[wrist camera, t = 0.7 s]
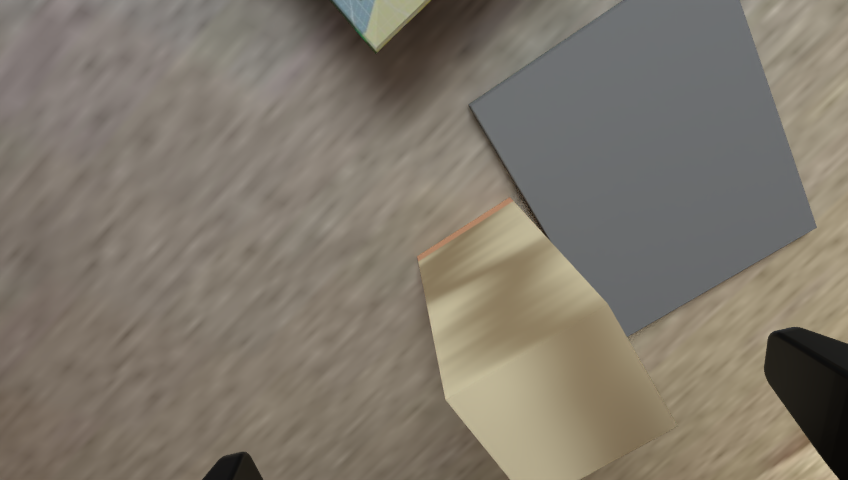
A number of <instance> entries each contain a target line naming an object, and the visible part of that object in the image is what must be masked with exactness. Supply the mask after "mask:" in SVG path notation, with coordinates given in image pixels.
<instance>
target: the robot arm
mask: <svg viewBox="0 0 848 480" xmlns="http://www.w3.org/2000/svg"><path fill="white" fill-rule="evenodd" d="M764 372H765V376H766V379H767V381H768V383H769V384H770V386H771V387H772V389H773V390H774V391H775V393H776V394H777V396H778V397H779V398H780V400H781V401H782V403H783V404H784V405H785V407H786V408H787V410H788V411H789V412H790V414H791V415H792V417H793V418H794V419H795V421H796V422H797V424H798V425H799V426H800V428H801V429H802V431H803V432H804V433H805V435H806V436H807V438H808V439H809V440H810V442H811V443H812V445H813V446H814V447H815V449H816V450H817V452H818V453H819V454H820V456H821V457H822V458H823V460H824V461H825V462H826V464H827V465H828V466H829V467H830V469H831V470H832V471H833V472H834V474H835V475H836V476H837V477H838V478H839V480H848V344H847V343H844V342H841V341H838V340H835V339H833V338H830V337H827V336H824V335H821V334H818V333H815V332H812V331H809V330H806V329H803V328H800V327H791V328H786V329H782V330H777V331H774V332H772V333H771V334H770V335H769V337H768V341H767V349H766V356H765V364H764ZM202 480H263V478H262V477H261V475H260V473H259V471H258V469H257V467H256V465H255V463H254V462H253V460H252V458H251V456H250V455H249V454H248V453H247V452H239V453H234V454H230V455H226V456H223V457H222V458H220V459H219V460H218V461H217V463H216V464H215V465H214V466H213V467H212V468H211V470H210V471H209V472H208V473H207V474H206V476H205V477H204V478H203V479H202Z"/></svg>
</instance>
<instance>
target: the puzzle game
mask: <svg viewBox="0 0 848 480" xmlns="http://www.w3.org/2000/svg"><path fill="white" fill-rule="evenodd" d="M330 1H331V2H332V3H333V5H334V6H335V7H336V8H337V9H338V10H339V12H340V13H341V14H342V15H343V16H344V17H345V19H346V20H347V21H348V22H349V23H350V24H351V26H352V27H353V28H354V29H355V30H356V31H357V33H358V34H359V35H360V36H361V37H362V38H363V40H364V41H365V42H366V43H367V44H368V45H369V47H370V48H371V49H372V50H373V51H374V52H375V54H376V53H377V52H378V51H379V50H380V49H381V48H383V47H384V46H385V45H386V44H387V43H388V42H389V41H390V40H391V39H392V38H393V37H394V36H395V35H396V34H397V33H398V32H399V31H400V30H401V29H402V28H403V27H404V26H405V25H406V24H407V23H408V22H409V21H410V20H411V19H413V18H414V17H415V16H416V15H417V14H418V13H419V12H420V11H421V10H422V9H423V8H424V7H425V6H426V5H427V4H428V3H429V2H430V1H431V0H330Z"/></svg>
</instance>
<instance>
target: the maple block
mask: <svg viewBox="0 0 848 480" xmlns="http://www.w3.org/2000/svg"><path fill="white" fill-rule="evenodd" d="M417 258H418V263H419V268H420V273H421V278H422V283H423V288H424V293H425V298H426V303H427V308H428V313H429V318H430V324H431V329H432V334H433V339H434V344H435V349H436V354H437V359H438V364H439V369H440V374H441V379H442V384H443V389H444V395H445V400H446V401H447V402H448V403H449V405H450V406H451V407H452V408H453V410H454V411H455V412H456V413H457V414H458V416H459V417H460V418H461V419H462V421H463V422H464V423H465V424H466V426H467V427H468V428H469V429H470V431H471V432H472V433H473V434H474V435H475V437H476V438H477V439H478V440H479V442H480V443H481V444H482V445H483V447H484V448H485V449H486V450H487V451H488V453H489V454H490V455H491V456H492V458H493V459H494V460H495V461H496V463H497V464H498V465H499V466H500V468H501V469H502V470H503V471H504V472H505V474H506V475H507V476H508V477H509V479H510V480H580V479H582V478H583V477H585V476H587V475H589V474H591V473H593V472H594V471H596V470H598V469H600V468H602V467H604V466H606V465H607V464H609V463H611V462H613V461H615V460H617V459H618V458H620V457H622V456H624V455H626V454H628V453H630V452H631V451H633V450H635V449H637V448H639V447H641V446H642V445H644V444H646V443H648V442H650V441H652V440H654V439H655V438H657V437H659V436H661V435H663V434H665V433H667V432H668V431H670V430H672V429H674V428H676V427H678V425H677V424H676V422H675V420H674V418H673V417H672V415H671V413H670V411H669V410H668V408H667V406H666V404H665V403H664V401H663V399H662V397H661V396H660V394H659V392H658V390H657V389H656V387H655V385H654V383H653V382H652V380H651V378H650V377H649V375H648V373H647V371H646V370H645V368H644V366H643V364H642V363H641V361H640V359H639V357H638V356H637V354H636V352H635V350H634V349H633V347H632V345H631V343H630V342H629V340H628V338H627V336H626V335H625V333H624V331H623V329H622V328H621V326H620V324H619V322H618V321H617V319H616V317H615V315H614V314H613V312H612V310H611V308H610V307H609V305H608V304H607V302H606V301H605V300H604V299H603V298H602V297H601V296H600V295H599V294H598V293H597V292H596V290H595V289H594V288H593V287H592V286H591V285H590V284H589V283H588V282H587V281H586V280H585V278H584V277H583V276H582V275H581V274H580V273H579V272H578V271H577V270H576V269H575V268H574V266H573V265H572V264H571V263H570V262H569V261H568V260H567V259H566V258H565V257H564V256H563V255H562V253H561V252H560V251H559V250H558V249H557V248H556V247H555V246H554V245H553V244H552V243H551V241H550V240H549V239H548V238H547V237H546V236H545V235H544V234H543V233H542V232H541V231H540V229H539V228H538V227H537V226H536V225H535V224H534V223H533V222H532V221H531V220H530V219H529V217H528V216H527V215H526V214H525V213H524V212H523V211H522V210H521V209H520V208H519V207H518V206H517V204H516V203H515V202H514V201H513V200H512V199H511V198H508V199H506V200H505V201H503V202H502V203H500V204H499V205H497V206H495V207H494V208H492V209H491V210H489V211H488V212H486V213H484V214H483V215H481V216H480V217H478V218H477V219H475V220H474V221H472V222H470V223H469V224H467V225H466V226H464V227H463V228H461V229H459V230H458V231H456V232H455V233H453V234H452V235H450V236H448V237H447V238H445V239H444V240H442V241H441V242H439V243H437V244H436V245H434V246H433V247H431V248H430V249H428V250H426V251H425V252H423V253H422V254H420V255H419V256H417Z"/></svg>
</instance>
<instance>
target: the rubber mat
mask: <svg viewBox="0 0 848 480" xmlns="http://www.w3.org/2000/svg"><path fill="white" fill-rule="evenodd" d="M469 107H470V109H471V110H472V112H473V114H474V115H475V117H476V119H477V120H478V122H479V124H480V125H481V127H482V129H483V130H484V132H485V134H486V135H487V137H488V139H489V140H490V142H491V144H492V146H493V147H494V149H495V151H496V152H497V154H498V156H499V157H500V159H501V161H502V162H503V164H504V166H505V167H506V169H507V171H508V172H509V174H510V176H511V178H512V179H513V181H514V183H515V184H516V186H517V188H518V189H519V191H520V193H521V194H522V196H523V198H524V199H525V201H526V203H527V204H528V206H529V208H530V210H531V211H532V213H533V215H534V216H535V218H536V220H537V221H538V223H539V225H540V226H541V228H542V230H543V231H544V233H545V235H546V236H547V238H548V239H549V240H550V241H551V243H552V244H553V245H554V246H555V247H556V248H557V249H558V250H559V251H560V252H561V253H562V255H563V256H564V257H565V258H566V259H567V260H568V261H569V262H570V263H571V264H572V265H573V266H574V268H575V269H576V270H577V271H578V272H579V273H580V274H581V275H582V276H583V277H584V278H585V280H586V281H587V282H588V283H589V284H590V285H591V286H592V287H593V288H594V289H595V290H596V292H597V293H598V294H599V295H600V296H601V297H602V298H603V299H604V300H605V301H606V302H607V304H608V305H609V307H610V308H611V310H612V312H613V314H614V315H615V317H616V319H617V321H618V322H619V324H620V326H621V328H622V329H623V331H624V333H625V335H626V336H627V337H628V336H629V335H631V334H633V333H635V332H636V331H638V330H640V329H642V328H643V327H645V326H647V325H649V324H650V323H652V322H654V321H656V320H657V319H659V318H661V317H662V316H664V315H666V314H668V313H669V312H671V311H673V310H675V309H676V308H678V307H680V306H682V305H683V304H685V303H687V302H688V301H690V300H692V299H694V298H695V297H697V296H699V295H701V294H702V293H704V292H706V291H708V290H709V289H711V288H713V287H715V286H716V285H718V284H720V283H721V282H723V281H725V280H727V279H728V278H730V277H732V276H734V275H735V274H737V273H739V272H741V271H742V270H744V269H746V268H747V267H749V266H751V265H753V264H754V263H756V262H758V261H760V260H761V259H763V258H765V257H767V256H768V255H770V254H772V253H774V252H775V251H777V250H779V249H780V248H782V247H784V246H786V245H787V244H789V243H791V242H793V241H794V240H796V239H798V238H800V237H801V236H803V235H805V234H806V233H808V232H810V231H812V230H813V229H815V228H817V227H816V224H815V221H814V218H813V215H812V212H811V209H810V206H809V203H808V200H807V197H806V194H805V191H804V188H803V185H802V182H801V179H800V177H799V174H798V171H797V168H796V165H795V162H794V159H793V156H792V153H791V150H790V147H789V144H788V141H787V138H786V135H785V132H784V129H783V127H782V124H781V121H780V118H779V115H778V112H777V109H776V106H775V103H774V100H773V97H772V94H771V91H770V88H769V85H768V82H767V79H766V76H765V74H764V71H763V68H762V65H761V62H760V59H759V56H758V53H757V50H756V47H755V44H754V41H753V38H752V35H751V32H750V29H749V26H748V24H747V21H746V18H745V15H744V12H743V9H742V6H741V3H740V0H623V1H621V2H620V3H619V4H617V5H616V6H614V7H613V8H611V9H610V10H608V11H607V12H605V13H604V14H602V15H601V16H599V17H598V18H596V19H595V20H593V21H592V22H590V23H589V24H587V25H586V26H584V27H583V28H581V29H580V30H578V31H577V32H576V33H574V34H573V35H571V36H570V37H568V38H567V39H565V40H564V41H562V42H561V43H559V44H558V45H556V46H555V47H553V48H552V49H550V50H549V51H547V52H546V53H544V54H543V55H541V56H540V57H538V58H537V59H535V60H534V61H533V62H531V63H530V64H528V65H527V66H525V67H524V68H522V69H521V70H519V71H518V72H516V73H515V74H513V75H512V76H510V77H509V78H507V79H506V80H504V81H503V82H501V83H500V84H498V85H497V86H495V87H494V88H493V89H491V90H490V91H488V92H487V93H485V94H484V95H482V96H481V97H479V98H478V99H476V100H475V101H473V102H472V103H470V104H469Z"/></svg>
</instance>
